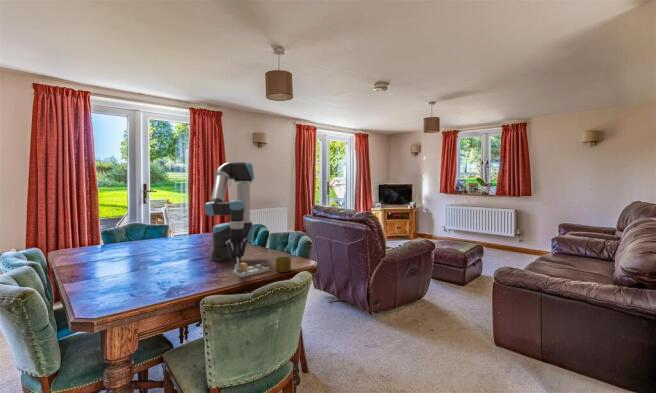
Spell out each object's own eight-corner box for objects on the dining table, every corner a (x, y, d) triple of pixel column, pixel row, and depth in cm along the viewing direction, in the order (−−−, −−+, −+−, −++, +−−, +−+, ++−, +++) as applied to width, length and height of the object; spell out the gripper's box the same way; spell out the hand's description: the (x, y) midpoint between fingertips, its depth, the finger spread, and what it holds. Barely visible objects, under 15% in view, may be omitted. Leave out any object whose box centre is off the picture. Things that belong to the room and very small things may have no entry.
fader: (239, 269, 185) (239, 263, 184) (243, 268, 186) (243, 262, 186) (243, 271, 182) (243, 264, 181) (247, 270, 183) (247, 263, 183)
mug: (290, 271, 184) (286, 254, 186) (274, 275, 186) (270, 258, 188) (298, 269, 196) (294, 253, 197) (282, 272, 198) (279, 257, 200)
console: (233, 273, 185) (233, 267, 185) (260, 267, 197) (260, 261, 197) (241, 277, 178) (241, 271, 178) (269, 270, 190) (269, 265, 190)
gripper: (229, 230, 172) (229, 273, 174) (250, 227, 181) (250, 268, 183) (222, 228, 178) (223, 269, 179) (244, 225, 186) (244, 265, 188)
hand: (236, 269), depth 181 cm, fingers closed
